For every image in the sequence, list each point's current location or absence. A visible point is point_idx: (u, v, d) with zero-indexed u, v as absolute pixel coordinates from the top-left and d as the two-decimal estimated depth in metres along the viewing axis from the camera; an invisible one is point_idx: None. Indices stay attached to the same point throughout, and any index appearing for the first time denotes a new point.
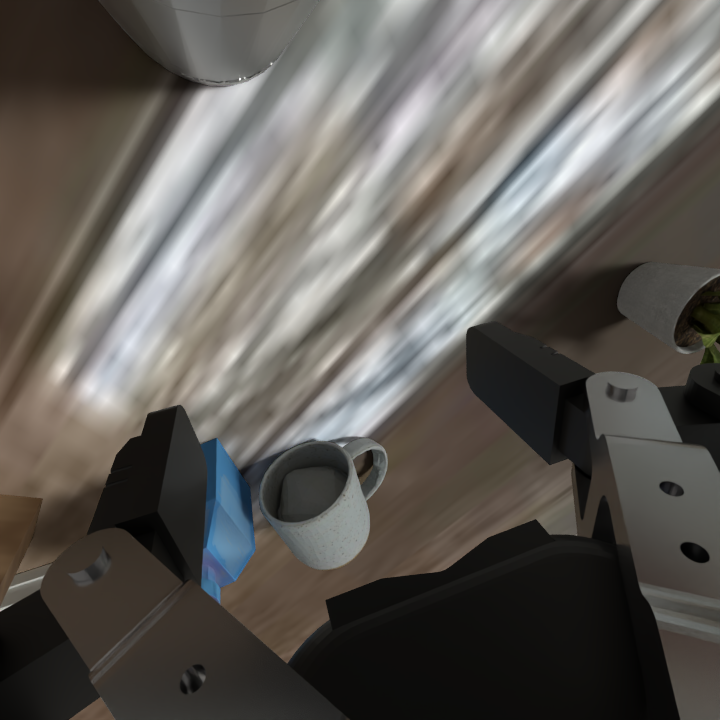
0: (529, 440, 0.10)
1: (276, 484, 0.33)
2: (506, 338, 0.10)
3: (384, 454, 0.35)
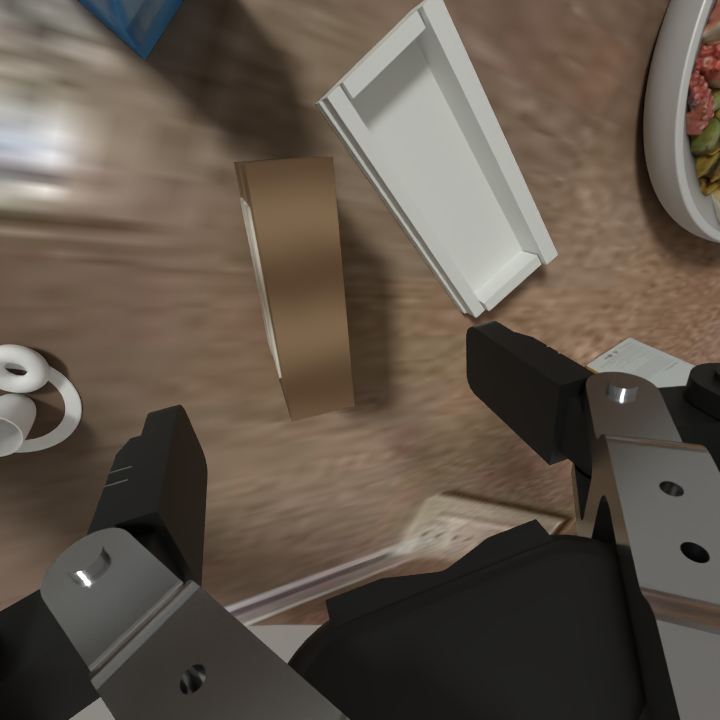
0: (529, 440, 0.10)
1: None
2: (506, 338, 0.10)
3: None
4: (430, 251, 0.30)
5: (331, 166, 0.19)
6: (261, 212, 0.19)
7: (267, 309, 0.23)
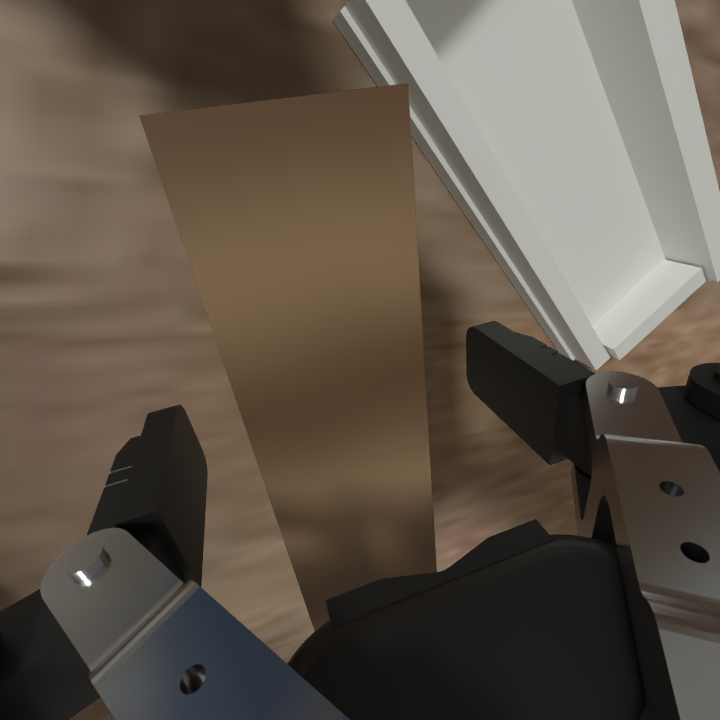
0: (529, 440, 0.10)
1: None
2: (506, 339, 0.10)
3: None
4: (535, 276, 0.18)
5: (404, 113, 0.06)
6: (212, 259, 0.07)
7: None
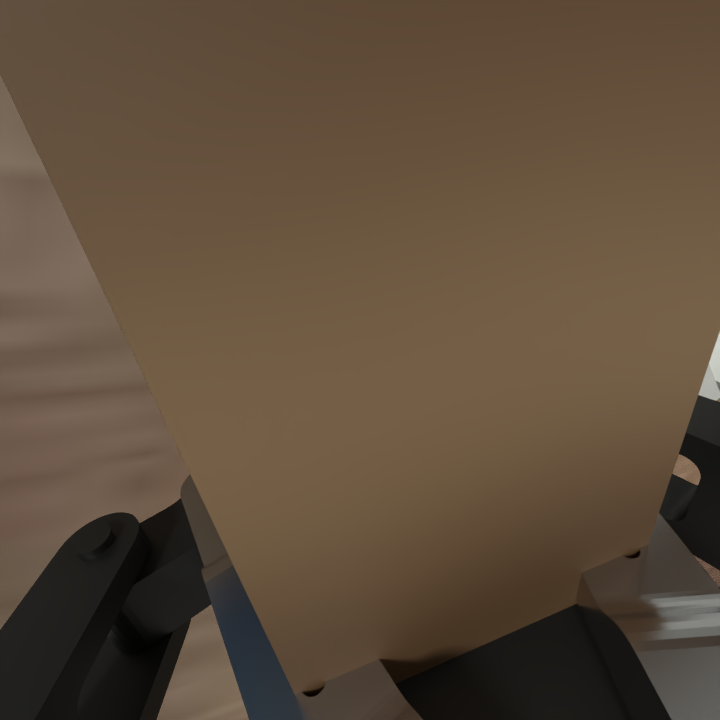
0: None
1: None
2: None
3: None
4: None
5: None
6: (229, 393, 0.02)
7: None
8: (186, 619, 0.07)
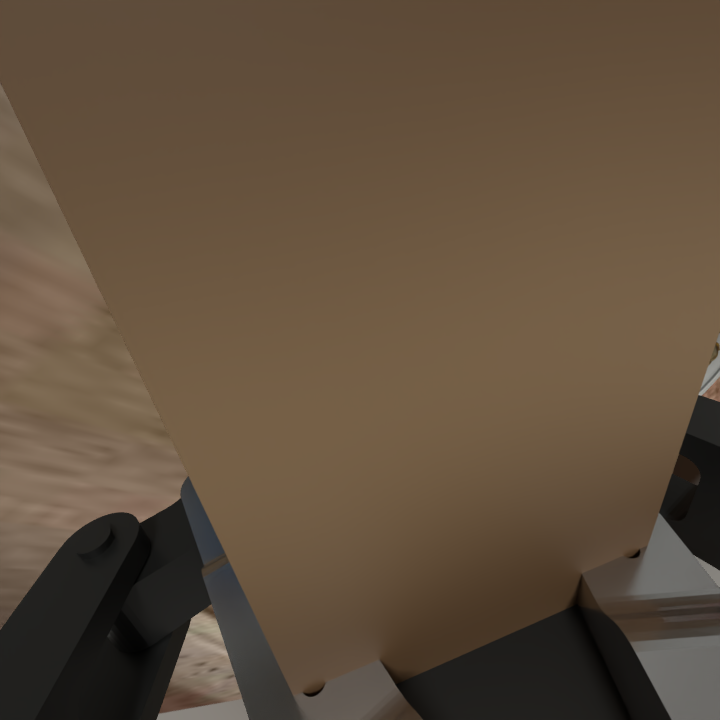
0: None
1: None
2: None
3: None
4: None
5: None
6: (228, 395, 0.02)
7: None
8: (186, 618, 0.07)
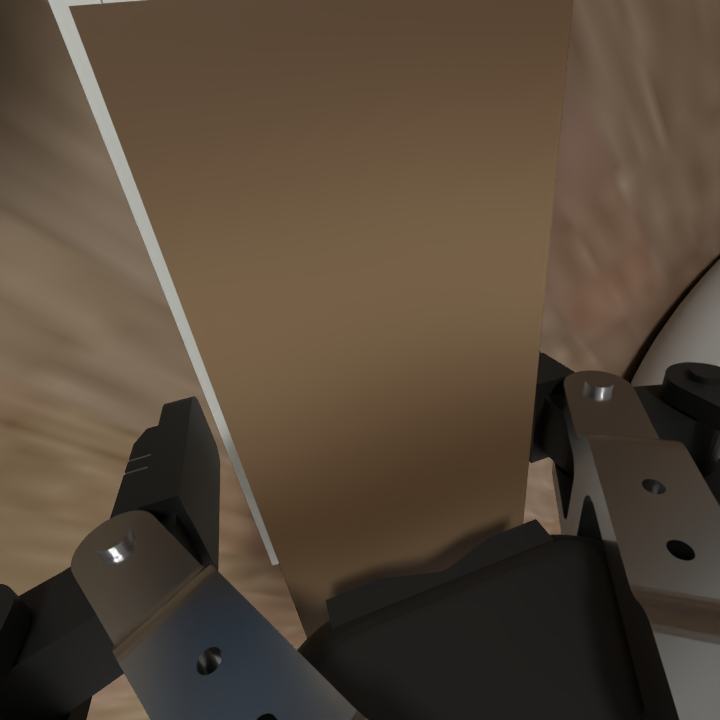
0: None
1: None
2: None
3: None
4: (220, 430, 0.14)
5: (562, 25, 0.04)
6: (217, 288, 0.04)
7: None
8: (79, 702, 0.06)
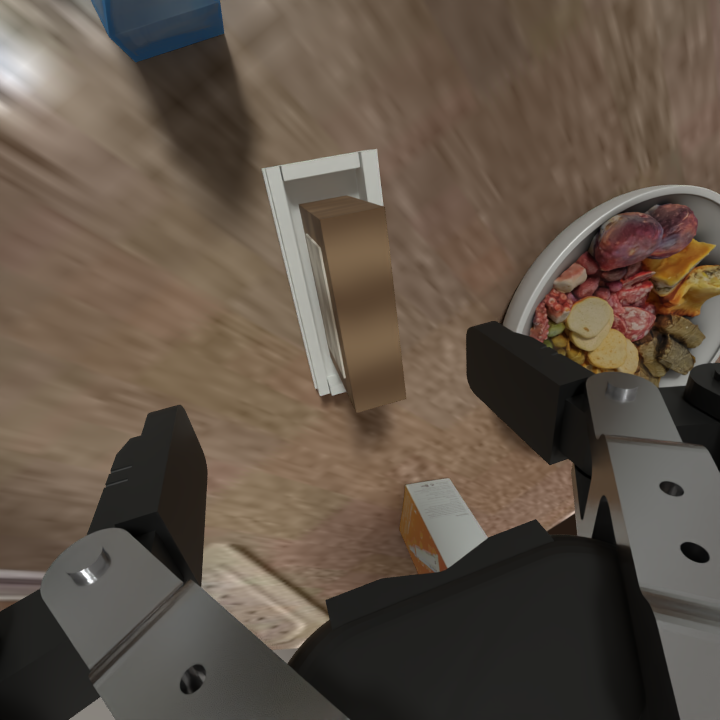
0: (529, 440, 0.10)
1: None
2: (506, 338, 0.10)
3: None
4: (302, 323, 0.35)
5: (384, 214, 0.24)
6: (332, 253, 0.24)
7: (334, 324, 0.28)
8: None
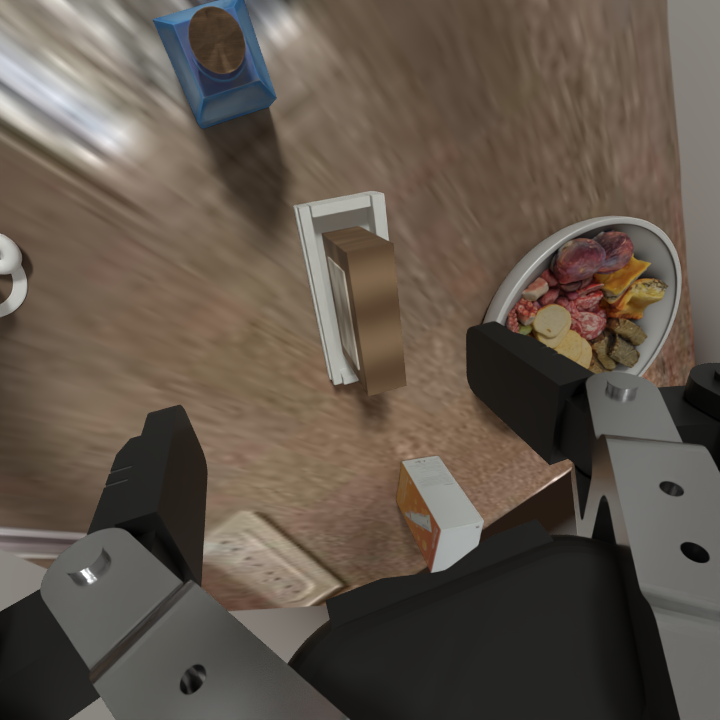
0: (529, 440, 0.10)
1: None
2: (506, 339, 0.10)
3: None
4: (322, 326, 0.44)
5: (392, 248, 0.33)
6: (354, 277, 0.33)
7: (352, 328, 0.37)
8: None
